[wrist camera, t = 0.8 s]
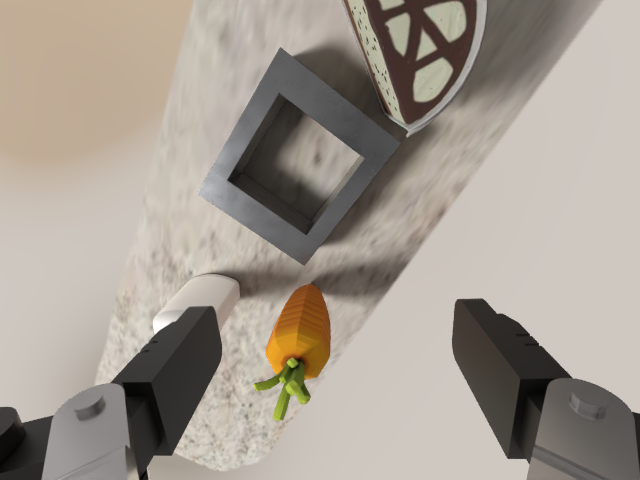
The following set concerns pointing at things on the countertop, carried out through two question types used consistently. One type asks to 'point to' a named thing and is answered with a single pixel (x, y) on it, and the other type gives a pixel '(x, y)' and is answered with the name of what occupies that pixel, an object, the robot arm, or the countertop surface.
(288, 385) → the carrot
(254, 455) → the countertop surface
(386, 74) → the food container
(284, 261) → the countertop surface
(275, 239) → the grey square frame
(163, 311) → the eye dropper bottle
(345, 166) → the countertop surface
